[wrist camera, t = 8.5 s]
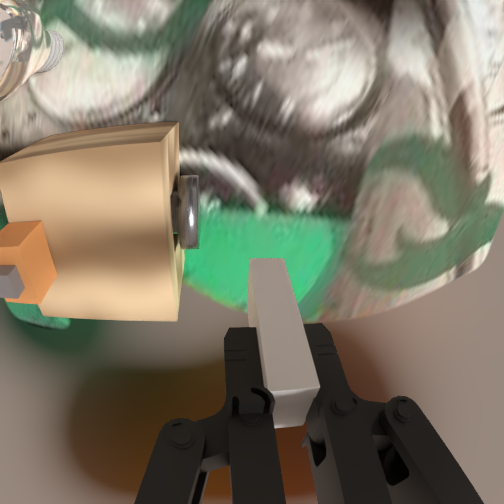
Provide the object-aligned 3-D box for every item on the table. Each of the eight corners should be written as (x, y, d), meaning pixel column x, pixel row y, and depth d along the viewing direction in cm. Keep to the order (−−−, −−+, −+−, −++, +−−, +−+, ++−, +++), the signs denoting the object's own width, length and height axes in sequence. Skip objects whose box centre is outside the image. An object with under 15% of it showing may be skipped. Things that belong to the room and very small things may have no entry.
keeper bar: (7, 223, 15) (-25, 256, 11) (41, 220, 15) (9, 256, 12) (24, 274, 17) (-1, 311, 14) (57, 274, 17) (34, 315, 14)
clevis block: (50, 135, 19) (-5, 164, 13) (178, 121, 21) (160, 142, 14) (74, 260, 26) (43, 315, 19) (184, 259, 27) (177, 321, 20)
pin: (46, 177, 21) (15, 202, 16) (199, 166, 22) (195, 190, 18) (58, 232, 23) (33, 264, 19) (200, 227, 25) (198, 263, 20)
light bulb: (50, 2, 13) (-47, -20, 3) (109, 30, 16) (19, 2, 6) (9, 74, 16) (-93, 98, 5) (62, 106, 18) (-39, 143, 8)
